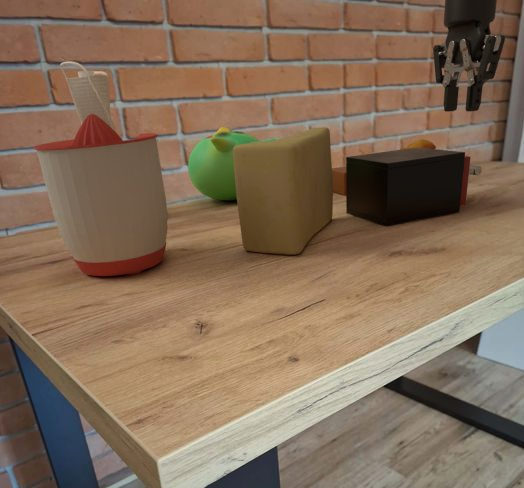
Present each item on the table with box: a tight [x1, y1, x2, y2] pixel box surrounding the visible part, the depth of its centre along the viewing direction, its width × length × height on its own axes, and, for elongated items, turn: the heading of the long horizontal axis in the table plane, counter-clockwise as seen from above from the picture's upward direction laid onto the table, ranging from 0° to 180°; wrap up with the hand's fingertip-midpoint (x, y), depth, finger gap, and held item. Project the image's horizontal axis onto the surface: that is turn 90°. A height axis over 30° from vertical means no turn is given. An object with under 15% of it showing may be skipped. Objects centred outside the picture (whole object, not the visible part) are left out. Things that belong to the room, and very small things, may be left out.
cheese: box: [233, 126, 334, 256], centre depth 78 cm, size 22×10×15 cm, turn 151°
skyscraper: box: [59, 61, 118, 134], centre depth 95 cm, size 8×8×28 cm
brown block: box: [332, 166, 346, 196], centre depth 110 cm, size 4×8×4 cm, turn 22°
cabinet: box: [345, 147, 466, 227], centre depth 87 cm, size 15×13×10 cm
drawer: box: [460, 155, 483, 207], centre depth 88 cm, size 18×11×8 cm, turn 112°
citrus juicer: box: [33, 114, 169, 277], centre depth 70 cm, size 16×17×20 cm
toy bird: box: [187, 126, 282, 201], centre depth 109 cm, size 18×17×15 cm
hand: (460, 110), depth 86 cm, fingers open, 4 cm apart
